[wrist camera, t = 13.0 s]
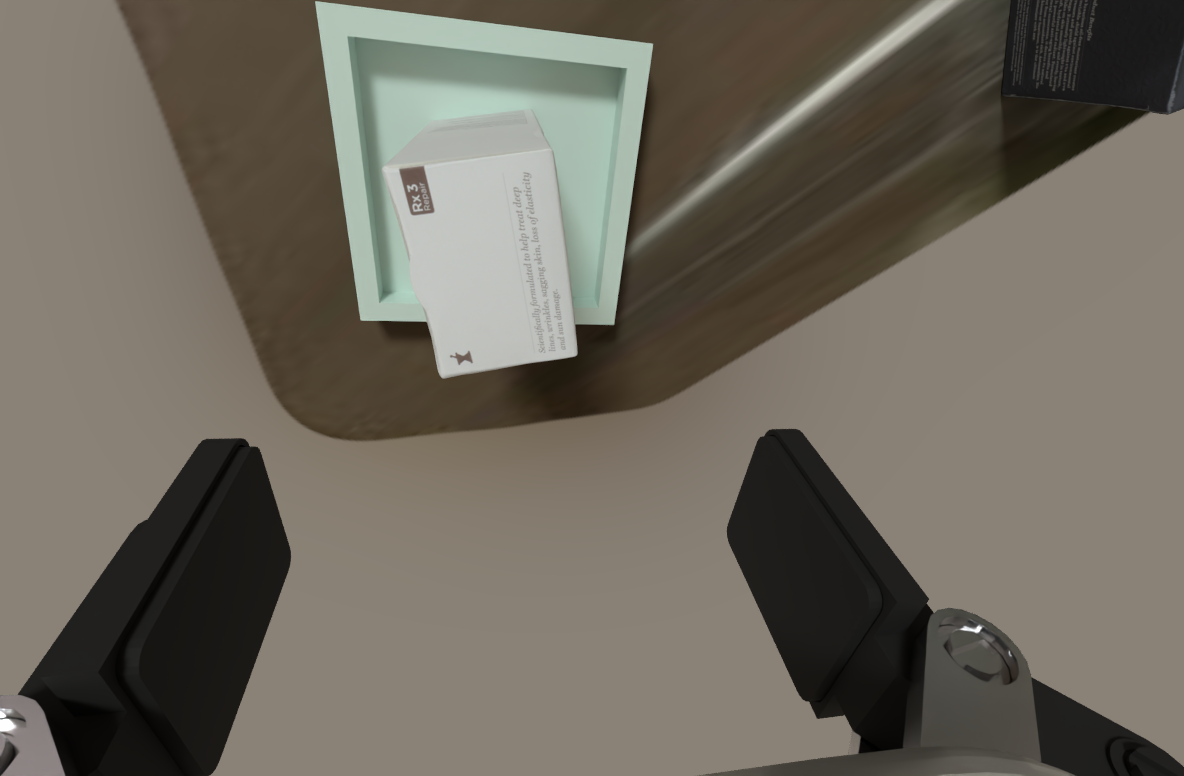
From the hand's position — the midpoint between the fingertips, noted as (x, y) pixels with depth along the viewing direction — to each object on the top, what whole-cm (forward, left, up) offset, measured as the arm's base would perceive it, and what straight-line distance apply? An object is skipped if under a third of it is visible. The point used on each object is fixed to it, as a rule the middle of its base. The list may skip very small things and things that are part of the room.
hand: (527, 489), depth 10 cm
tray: (0, 0, -27) cm, 27 cm away
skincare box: (0, 0, -26) cm, 26 cm away
